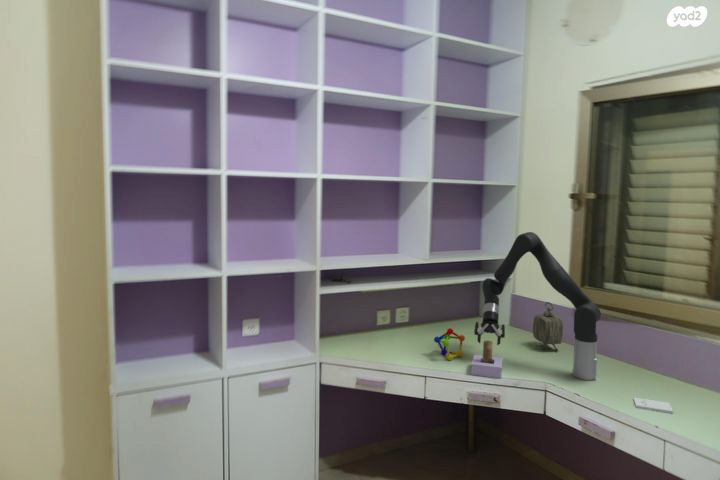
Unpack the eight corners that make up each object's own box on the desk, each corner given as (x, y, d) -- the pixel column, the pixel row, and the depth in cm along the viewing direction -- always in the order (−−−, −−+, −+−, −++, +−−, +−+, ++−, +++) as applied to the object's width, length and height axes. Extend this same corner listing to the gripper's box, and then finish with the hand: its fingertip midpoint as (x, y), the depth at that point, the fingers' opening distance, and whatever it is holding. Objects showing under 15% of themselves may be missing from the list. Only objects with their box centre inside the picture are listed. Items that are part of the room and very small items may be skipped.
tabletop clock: (561, 352, 251) (564, 305, 248) (545, 353, 249) (548, 306, 247) (546, 343, 265) (548, 299, 262) (531, 344, 263) (533, 299, 261)
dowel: (491, 370, 224) (492, 341, 223) (491, 373, 221) (492, 343, 219) (482, 369, 226) (483, 340, 224) (482, 372, 222) (483, 342, 220)
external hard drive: (672, 415, 183) (635, 408, 188) (668, 406, 190) (632, 400, 195) (673, 411, 183) (635, 404, 188) (669, 402, 190) (633, 396, 195)
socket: (501, 368, 227) (502, 358, 227) (501, 378, 215) (501, 367, 214) (473, 364, 231) (474, 354, 231) (471, 374, 219) (471, 364, 218)
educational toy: (442, 352, 252) (445, 323, 251) (465, 358, 244) (467, 328, 243) (427, 357, 240) (430, 327, 239) (450, 363, 232) (453, 332, 231)
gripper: (476, 308, 240) (473, 338, 230) (505, 311, 235) (504, 341, 226) (476, 316, 245) (473, 345, 236) (505, 319, 241) (504, 348, 231)
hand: (488, 343), depth 231 cm, fingers open, 8 cm apart
